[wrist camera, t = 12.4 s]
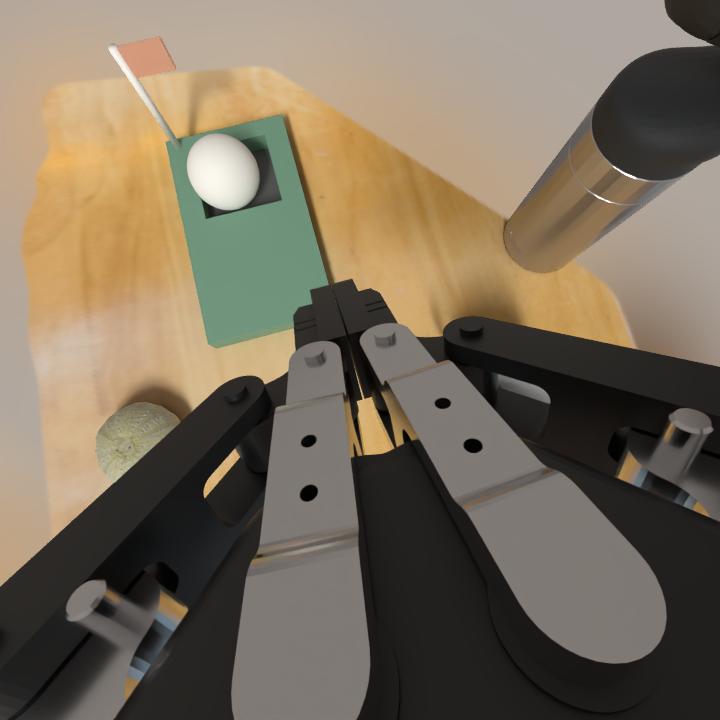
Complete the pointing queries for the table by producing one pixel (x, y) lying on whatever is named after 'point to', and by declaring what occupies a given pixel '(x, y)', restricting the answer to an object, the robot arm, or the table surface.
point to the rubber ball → (223, 171)
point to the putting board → (240, 223)
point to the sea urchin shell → (131, 436)
